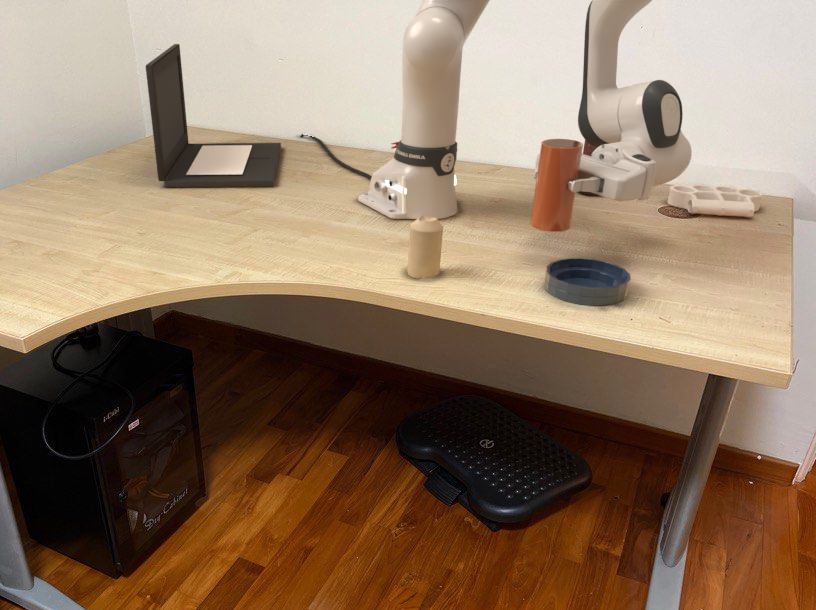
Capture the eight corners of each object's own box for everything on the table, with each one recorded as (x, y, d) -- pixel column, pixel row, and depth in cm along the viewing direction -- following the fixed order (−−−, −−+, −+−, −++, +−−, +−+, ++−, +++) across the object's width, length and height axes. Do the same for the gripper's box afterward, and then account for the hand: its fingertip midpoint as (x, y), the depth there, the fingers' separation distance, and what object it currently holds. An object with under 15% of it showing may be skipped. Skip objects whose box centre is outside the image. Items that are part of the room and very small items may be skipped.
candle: (404, 268, 134) (407, 213, 129) (435, 267, 134) (439, 211, 129) (410, 280, 129) (414, 223, 124) (442, 279, 130) (447, 222, 125)
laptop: (273, 187, 178) (268, 63, 164) (158, 187, 178) (144, 65, 165) (281, 148, 210) (277, 42, 196) (183, 149, 210) (173, 43, 197)
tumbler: (522, 224, 132) (533, 142, 125) (546, 217, 136) (557, 136, 129) (554, 234, 128) (566, 150, 121) (578, 226, 131) (591, 143, 124)
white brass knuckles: (673, 216, 157) (663, 195, 169) (769, 222, 153) (751, 200, 165) (677, 200, 155) (666, 180, 168) (774, 205, 152) (756, 185, 164)
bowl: (527, 289, 126) (530, 270, 124) (574, 270, 132) (578, 252, 131) (595, 315, 117) (599, 295, 115) (642, 294, 124) (646, 274, 122)
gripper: (572, 138, 139) (513, 148, 134) (664, 163, 124) (601, 175, 118) (567, 173, 143) (509, 184, 137) (656, 201, 127) (594, 215, 121)
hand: (553, 180), depth 128 cm, fingers closed on tumbler, 6 cm apart
